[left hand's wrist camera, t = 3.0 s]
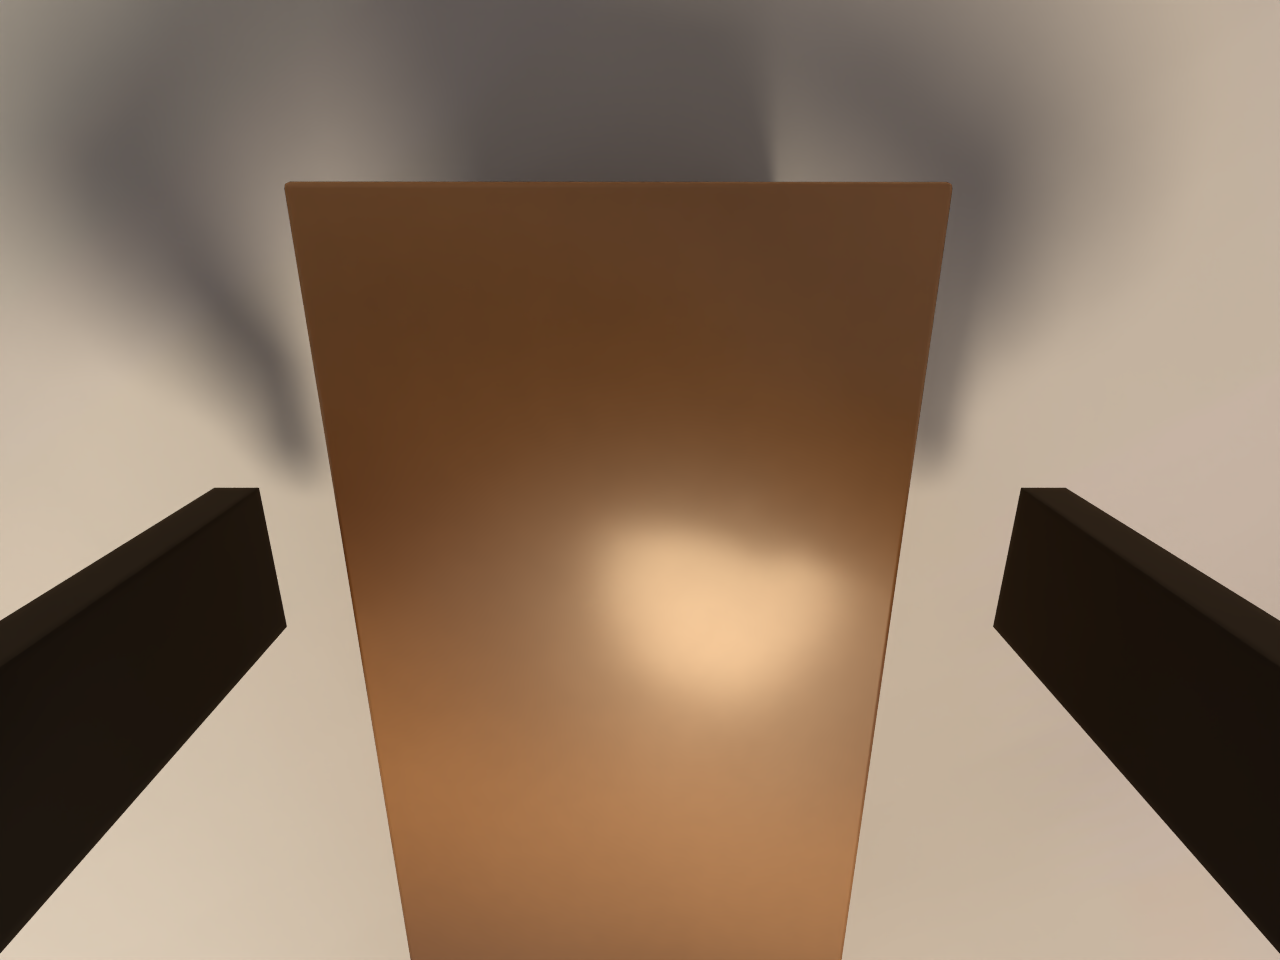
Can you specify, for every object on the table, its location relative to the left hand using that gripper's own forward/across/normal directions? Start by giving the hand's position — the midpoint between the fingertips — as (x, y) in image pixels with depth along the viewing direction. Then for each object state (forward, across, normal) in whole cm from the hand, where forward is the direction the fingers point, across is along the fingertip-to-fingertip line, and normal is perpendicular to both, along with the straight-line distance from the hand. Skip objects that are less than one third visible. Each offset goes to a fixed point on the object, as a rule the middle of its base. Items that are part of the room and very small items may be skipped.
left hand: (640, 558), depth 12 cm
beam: (+4, 0, -31) cm, 31 cm away
